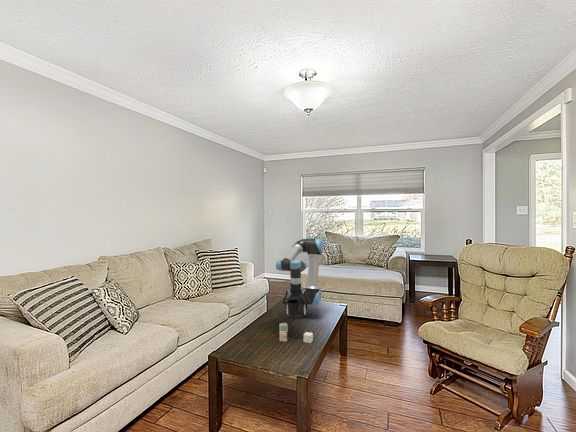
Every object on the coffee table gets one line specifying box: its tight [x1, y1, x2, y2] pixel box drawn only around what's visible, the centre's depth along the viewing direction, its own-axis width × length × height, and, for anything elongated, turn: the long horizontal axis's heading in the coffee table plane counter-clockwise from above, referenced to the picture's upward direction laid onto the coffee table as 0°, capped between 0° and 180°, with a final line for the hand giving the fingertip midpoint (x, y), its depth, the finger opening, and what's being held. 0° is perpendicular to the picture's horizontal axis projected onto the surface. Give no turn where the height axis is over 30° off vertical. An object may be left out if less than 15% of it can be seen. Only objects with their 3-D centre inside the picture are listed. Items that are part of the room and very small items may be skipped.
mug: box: [287, 299, 304, 316], centre depth 210 cm, size 8×12×10 cm
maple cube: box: [279, 330, 288, 343], centre depth 203 cm, size 5×5×5 cm
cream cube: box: [303, 331, 314, 344], centre depth 201 cm, size 5×5×5 cm
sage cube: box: [278, 322, 289, 333], centre depth 218 cm, size 5×5×5 cm
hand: (296, 313), depth 210 cm, fingers closed on mug, 12 cm apart
